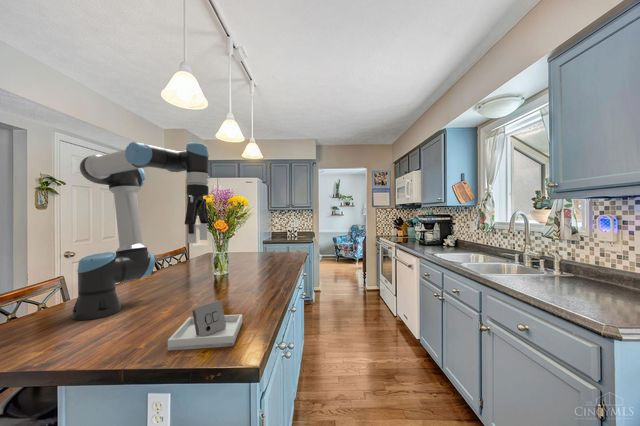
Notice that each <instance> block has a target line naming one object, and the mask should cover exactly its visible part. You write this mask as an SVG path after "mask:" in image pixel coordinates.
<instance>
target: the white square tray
mask: <svg viewBox="0 0 640 426" xmlns="http://www.w3.org/2000/svg"><path fill="white" fill-rule="evenodd" d="M224 317H225V322H226V328H224V329H222V330H220V331H217V332H215V333H212V334H210V335H208V336H205V337H199V335H196V330H195V324H194V318H193V316H189V317H188V318H187V319H186V320H185V321H184V322H183V324H181V325H180V326H179V328H178V329H177V330H176V331H175V332H174V333H173V334H172V335H171V336H169V338H168V339H167V351H168V352H169V351H182V350H196V349H198V350H199V349H212V348H224V347H225V348H227V347H234V345H235V342H236V340H237V337H238V335H239V333H240V329H241V327H242V325H243V314H240V313H239V314H224ZM196 320H197V319H196ZM197 324H198V322H197Z"/></svg>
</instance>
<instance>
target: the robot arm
mask: <svg viewBox="0 0 640 426" xmlns="http://www.w3.org/2000/svg"><path fill="white" fill-rule="evenodd" d="M145 168H156V169H161V170H166V171H168V172H170V173H181V172H186V184H187V185H186V195H187V196H188V198H187V207H186V213H185V219H184V225H187V244H197V224H196V223H197V218H198V219H199V224H198V226H199V241H207V240H208V224H210V219H209V215H208V213H209V212H208V206H207V199H206V198H204V197H208V196H209V188H210V187H209V179H210V178H211V177H210V176H209V148H208V145H207V144H205V143H201V142H196V141H195V142H193V141H192V142H188V143H187V144H186V147H185V150H183V151H181V150H180V151H178V150H174V149H169V148H164V147H159V146H155V145H150V144H146V143H143V142H135V141H132V142H130V143H129V144H128V145H127V146H126V148H125V149H123V150H119V151H115V152H111V153H107V154H103V155H101V154H92V155H88V156H86V157H84V158H83V159H82V160H81V162H80V164H79V171H80V173H81V175H82V176H83V177H84V178H85V179H86V180H87V181H89V182H91V183H94V184H98V185H107V186H108V191H109V192H110V193H112V194H113V196H114V197H113V198H114V206H115V207H114V208H115V218H116V226H117V228H116V229H117V235H118V245H119V247H118V248H117V249H116V250H115V252H112V251H110V252H109V251H108V252H102V253H101V252H99V253H95V254H91V255H87V256H84V257H82V258H80V259H79V261H78V263H77V264H78V265H77V299H76V301H75V304H74V305H73V309H72V312H71V318H72V319H73V320H75V321H86V320H94V319H100V318H104V317H109V316H111V315H114V314H116V313H119V312H120V311H121V309H122V306H121V305H122V304H121V301H120V298H119V297H118V294H117V292H116V285H117V284H119V283H125V282H130V281H135V280H140V279H144V278H146V277H148V276H150V275H151V274H152V272H153V271H154V269H155V265H156V263H155V262H156V261H155V259H156V258H155V255H154V254H153V253H152V252H151V251H149V250H148V246H146V245H144V243H143V235H142V228H141V226H142V225H141V217H140V209H139V199H138V192H139V191H140V190H141V187H143V185H144V184H145V180H146V175H145V170H144V169H145Z"/></svg>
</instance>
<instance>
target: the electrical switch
mask: <svg viewBox="0 0 640 426" xmlns="http://www.w3.org/2000/svg"><path fill="white" fill-rule="evenodd" d="M224 315H225V311H224V307H223V301H222V300H221V299H219V300H218V299H217V300H215V301H214V300H213V301H211V302H208V303H204V304H201V305H198V306H196V307H195V308H194V309H192V317H193V318H194V324H195V330H196V335H199V337H205V336H208V335H210V334H212V333H215V332H217V331H220V330H222V329H224V328H226V322H225V317H224ZM196 319H197V320H196ZM197 322H198V324H197Z"/></svg>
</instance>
